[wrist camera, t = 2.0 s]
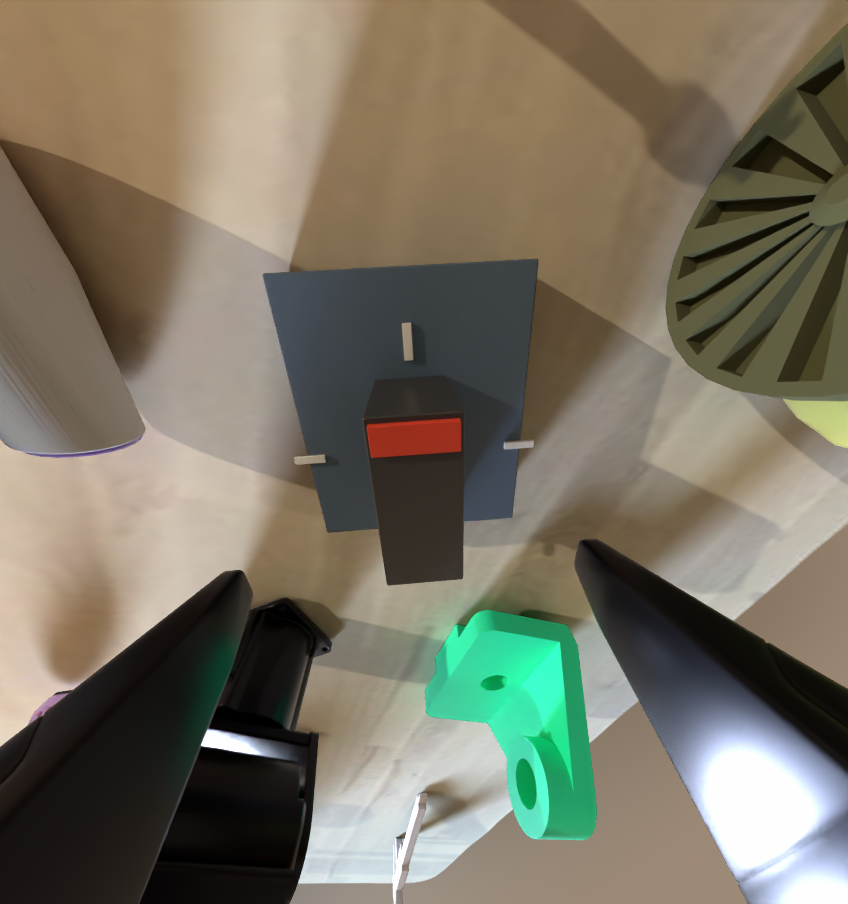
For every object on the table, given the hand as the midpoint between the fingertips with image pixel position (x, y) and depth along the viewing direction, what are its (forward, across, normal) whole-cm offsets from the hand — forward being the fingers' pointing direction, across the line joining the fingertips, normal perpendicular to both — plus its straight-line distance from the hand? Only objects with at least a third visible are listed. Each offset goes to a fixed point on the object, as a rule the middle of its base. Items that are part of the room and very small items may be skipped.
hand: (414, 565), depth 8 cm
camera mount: (+10, -5, +21) cm, 23 cm away
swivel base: (+9, 0, -1) cm, 10 cm away
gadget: (+7, 0, 0) cm, 7 cm away
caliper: (+10, +5, +60) cm, 61 cm away
